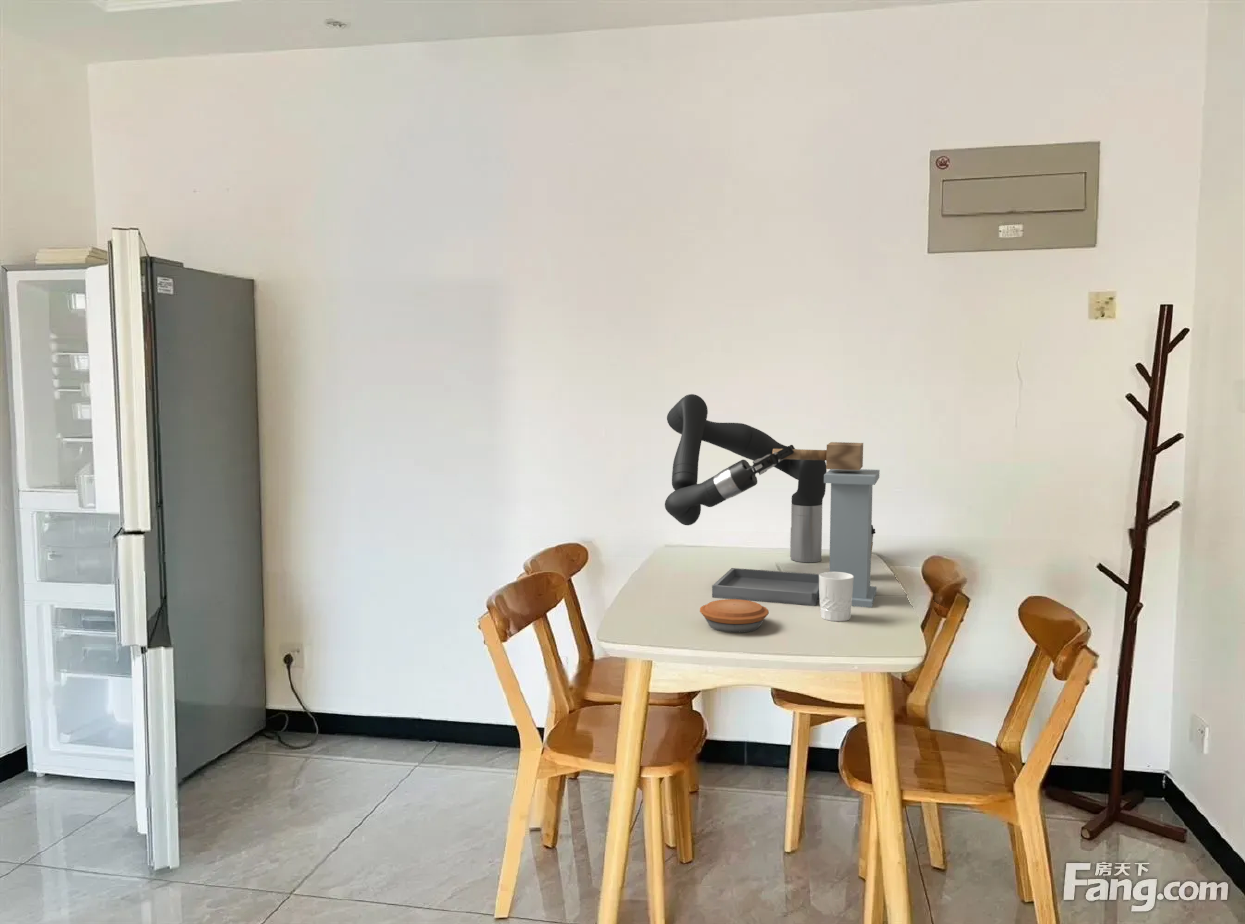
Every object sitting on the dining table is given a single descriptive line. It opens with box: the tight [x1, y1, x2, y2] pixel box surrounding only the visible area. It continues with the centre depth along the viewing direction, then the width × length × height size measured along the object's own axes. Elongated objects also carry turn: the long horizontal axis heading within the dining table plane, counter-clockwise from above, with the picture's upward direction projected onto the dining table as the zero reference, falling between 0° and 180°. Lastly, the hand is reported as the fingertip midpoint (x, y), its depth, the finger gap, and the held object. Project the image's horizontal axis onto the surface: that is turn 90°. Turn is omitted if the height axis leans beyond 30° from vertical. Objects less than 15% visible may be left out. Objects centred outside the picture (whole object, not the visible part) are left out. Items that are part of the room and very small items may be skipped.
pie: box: [699, 598, 770, 633], centre depth 196 cm, size 16×16×5 cm
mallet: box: [772, 441, 864, 470], centre depth 220 cm, size 22×9×6 cm, turn 70°
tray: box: [711, 567, 820, 607], centre depth 227 cm, size 26×22×3 cm
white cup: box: [818, 571, 854, 622], centre depth 202 cm, size 8×8×10 cm
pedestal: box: [824, 468, 880, 608], centre depth 219 cm, size 12×16×32 cm
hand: (792, 448), depth 222 cm, fingers closed on mallet, 2 cm apart
